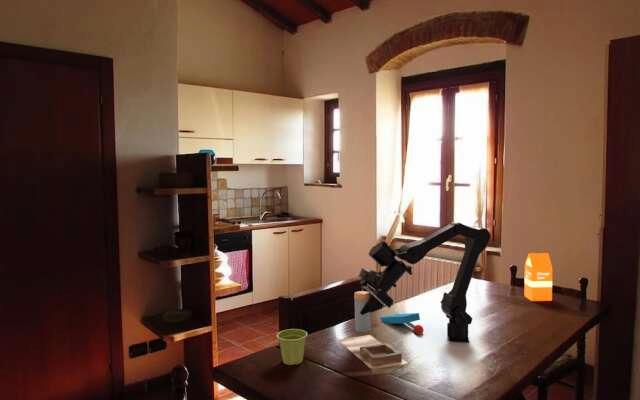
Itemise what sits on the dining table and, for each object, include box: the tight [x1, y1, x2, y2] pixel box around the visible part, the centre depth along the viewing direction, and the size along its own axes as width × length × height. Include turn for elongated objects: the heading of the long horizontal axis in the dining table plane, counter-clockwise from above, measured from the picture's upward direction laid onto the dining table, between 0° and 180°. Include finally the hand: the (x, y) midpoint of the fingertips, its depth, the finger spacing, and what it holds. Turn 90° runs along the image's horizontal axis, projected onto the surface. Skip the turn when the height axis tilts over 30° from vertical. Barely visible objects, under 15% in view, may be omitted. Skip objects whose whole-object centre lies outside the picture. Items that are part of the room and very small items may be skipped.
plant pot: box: [276, 328, 308, 366], centre depth 148 cm, size 9×9×9 cm
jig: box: [337, 334, 409, 374], centre depth 153 cm, size 26×12×4 cm, turn 20°
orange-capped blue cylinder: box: [353, 290, 371, 333], centre depth 157 cm, size 5×5×12 cm
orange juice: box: [524, 252, 553, 302], centre depth 211 cm, size 8×9×20 cm
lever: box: [380, 312, 424, 335], centre depth 177 cm, size 7×7×18 cm
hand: (358, 311), depth 157 cm, fingers closed on orange-capped blue cylinder, 5 cm apart
